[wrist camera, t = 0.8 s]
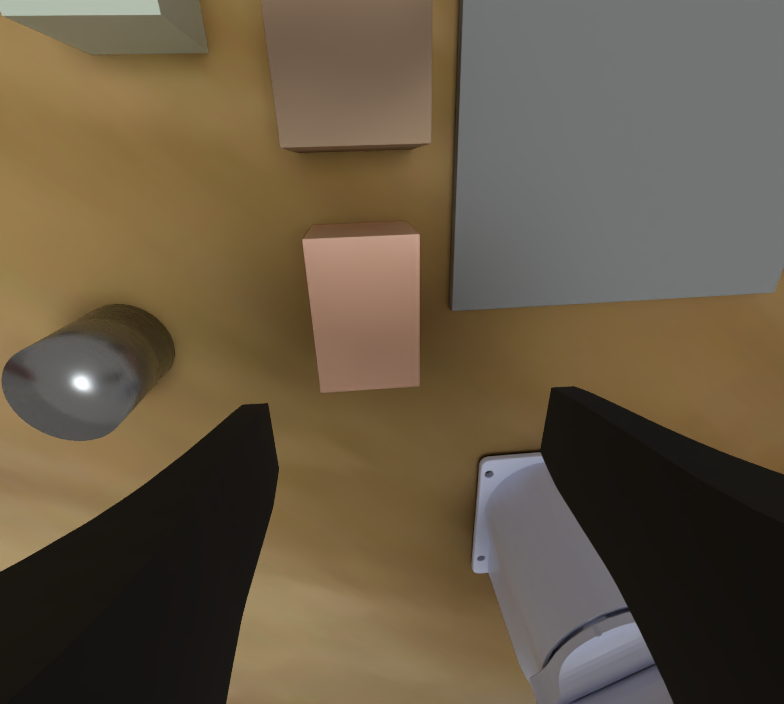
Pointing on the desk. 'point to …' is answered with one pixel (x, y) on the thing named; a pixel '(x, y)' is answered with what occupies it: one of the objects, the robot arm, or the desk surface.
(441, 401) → the desk surface
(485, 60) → the desk mat
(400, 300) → the terracotta brick
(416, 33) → the walnut cube
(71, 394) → the metal cylinder
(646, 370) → the desk surface
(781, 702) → the robot arm
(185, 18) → the square sage brick
